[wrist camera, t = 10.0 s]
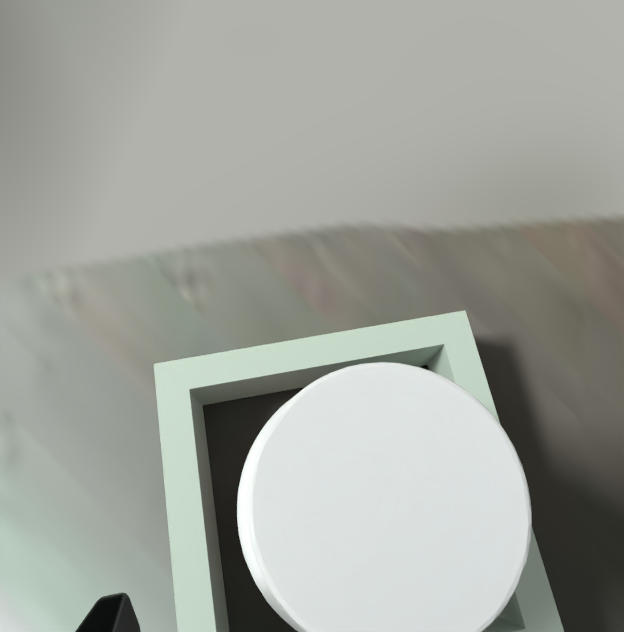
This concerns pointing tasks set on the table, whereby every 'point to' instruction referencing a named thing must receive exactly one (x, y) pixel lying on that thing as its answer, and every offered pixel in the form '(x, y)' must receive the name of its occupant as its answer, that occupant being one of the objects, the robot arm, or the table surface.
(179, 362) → the bottle holder
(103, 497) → the table surface
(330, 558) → the pill bottle
